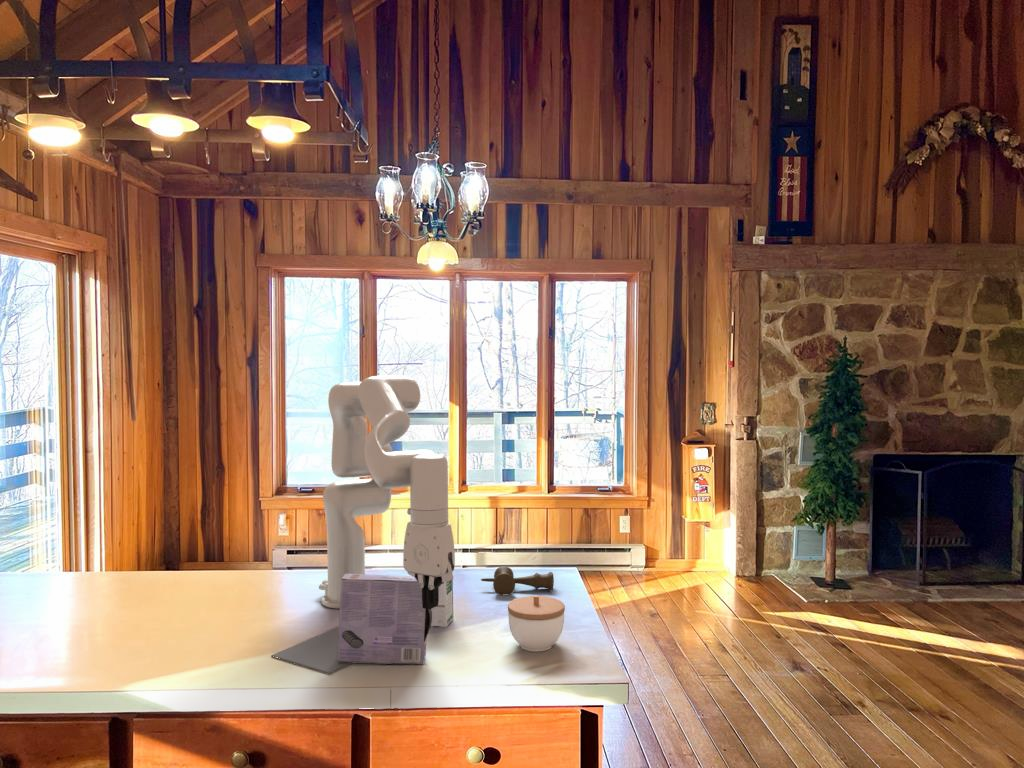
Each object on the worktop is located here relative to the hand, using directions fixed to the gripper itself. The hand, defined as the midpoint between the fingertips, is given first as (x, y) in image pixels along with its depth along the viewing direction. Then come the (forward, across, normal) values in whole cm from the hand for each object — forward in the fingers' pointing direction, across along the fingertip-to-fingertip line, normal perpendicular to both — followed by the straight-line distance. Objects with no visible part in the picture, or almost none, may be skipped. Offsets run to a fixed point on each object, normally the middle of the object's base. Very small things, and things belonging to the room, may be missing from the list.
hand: (430, 606), depth 151 cm
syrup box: (+14, -16, +24) cm, 32 cm away
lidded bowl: (+14, +11, +24) cm, 30 cm away
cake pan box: (+13, -12, 0) cm, 18 cm away
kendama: (+14, -13, +56) cm, 59 cm away
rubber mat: (+13, -26, 0) cm, 29 cm away
